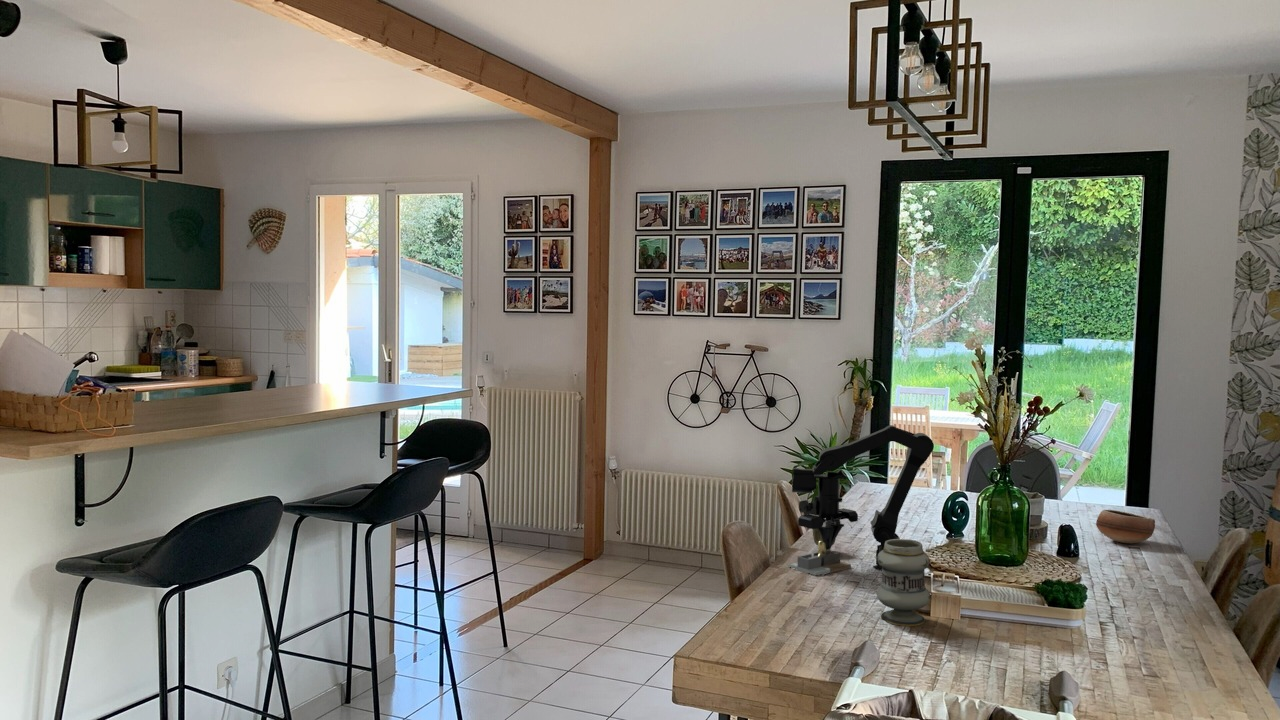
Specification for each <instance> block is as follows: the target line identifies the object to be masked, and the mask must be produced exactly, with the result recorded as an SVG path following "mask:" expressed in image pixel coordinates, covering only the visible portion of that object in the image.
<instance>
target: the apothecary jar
mask: <svg viewBox="0 0 1280 720" xmlns="http://www.w3.org/2000/svg"><path fill="white" fill-rule="evenodd" d="M877 561H878V563H879V564H880V565H881V566H882V570H881V574H882V575H881V584H880V585H879V586H878V587H877V590H876V597H877V600H878V601H879V602H880V603H881V604H882V605H884V606H886V607H888V608H890V610H885V611H884V612H882V613H881V614H880V619H881V620H884V621H885V622H886V623H888V624H891V625H896V626H902V627H915V626H916V627H917V626H920V625H923V624H924V623H925V622H926V618H925V617H924V616H923V615H921V614H920V613H917V612H916V611H918V610H920V609H922V608H924V607H926V606H927V605H928V604H929V603H930V602H931V593H930V592H929V590H928V589H927V587H926V586H925V585H926V583H925V581H926V580H925V570H926V569H927V568H928V567H929V566H930V565H931V559H930V557H929V555H928V554H927V553H926V552H925V551H924V549H923V543H922V542H920V541H919V540H914V539H907V538H900V539H892V540H888V541H886V542H885V545H884V549H883V550H882V551H880V552H879V554H878V556H877Z"/></svg>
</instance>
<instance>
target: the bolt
mask: <svg viewBox="0 0 1280 720" xmlns="http://www.w3.org/2000/svg"><path fill="white" fill-rule="evenodd" d="M825 549H826V542H825V541H818V545H817V552H818V555H816V556H814V555H812V556H811V557H807V558H806V559H810V558H815V557H821V565H822V564H823V556H824V555H825Z"/></svg>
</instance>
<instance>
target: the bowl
mask: <svg viewBox="0 0 1280 720" xmlns="http://www.w3.org/2000/svg"><path fill="white" fill-rule="evenodd" d="M1095 526H1096V528H1097V529H1098V531H1099V532H1100V533H1101V534H1102V535H1104V536H1106V537H1107V538H1109V539H1110V540H1112V541H1114V542H1117V543H1122V544H1137V543H1141V542H1144V541H1147V540H1148V539H1151V537H1152V536H1153V534H1154V532H1155V528H1156V520H1155V518H1152V517H1147V516H1143V515H1139V514H1135V513H1132V512H1131V513H1130V512H1126V511H1121V510H1113V509H1103V510H1101V511H1100V513H1099V515H1098V516H1097V519H1096V523H1095Z"/></svg>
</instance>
